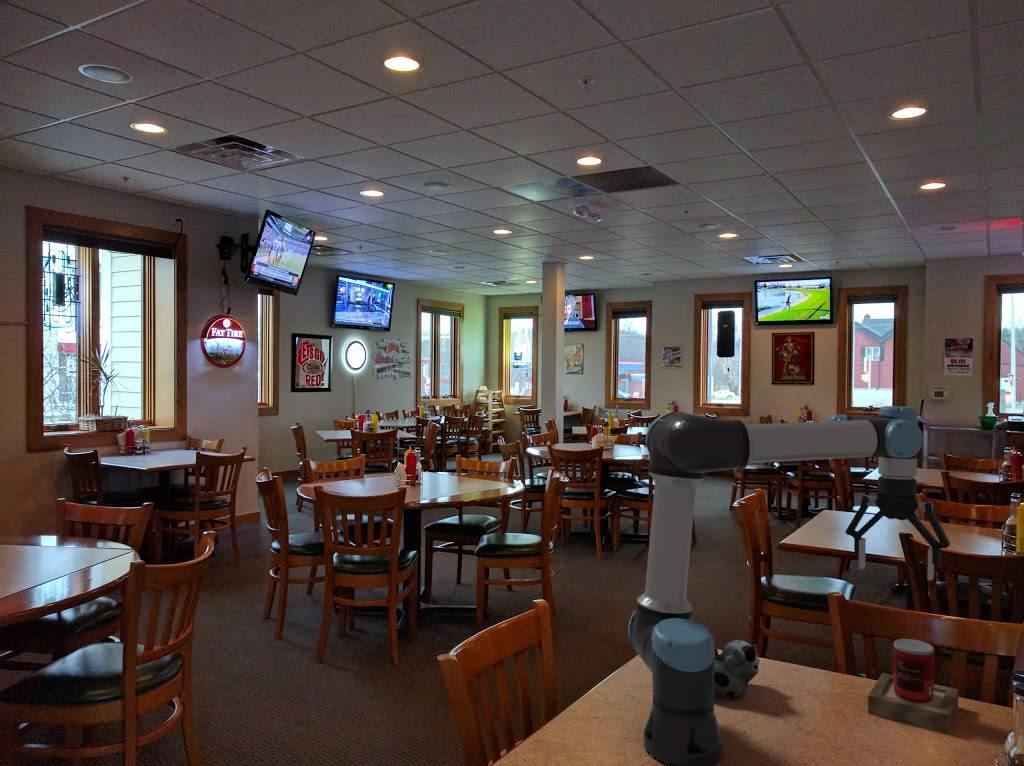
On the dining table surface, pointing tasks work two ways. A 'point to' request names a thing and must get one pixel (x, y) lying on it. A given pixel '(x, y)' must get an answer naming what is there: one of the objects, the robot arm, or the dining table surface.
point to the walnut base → (914, 705)
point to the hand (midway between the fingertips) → (895, 573)
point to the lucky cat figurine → (735, 668)
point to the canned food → (913, 670)
